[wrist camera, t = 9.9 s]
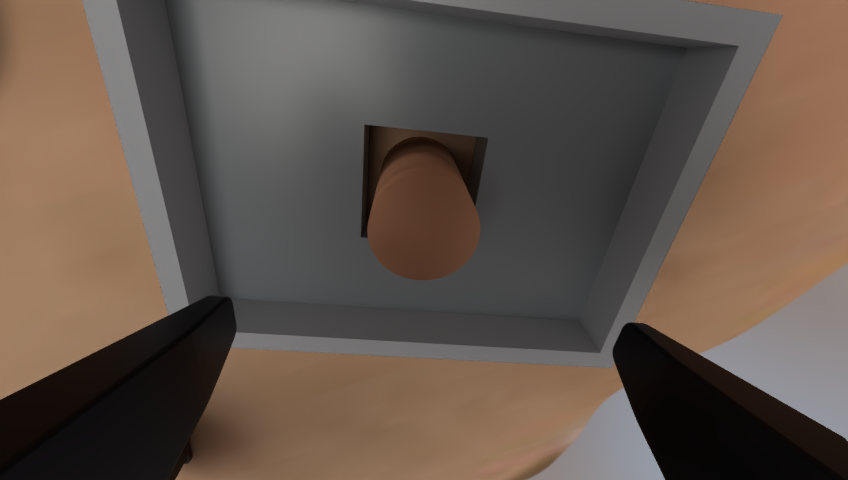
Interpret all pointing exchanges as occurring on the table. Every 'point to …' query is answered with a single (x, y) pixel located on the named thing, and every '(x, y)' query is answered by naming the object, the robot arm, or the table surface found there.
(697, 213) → the table surface
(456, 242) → the peg
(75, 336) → the table surface
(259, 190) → the socket box
